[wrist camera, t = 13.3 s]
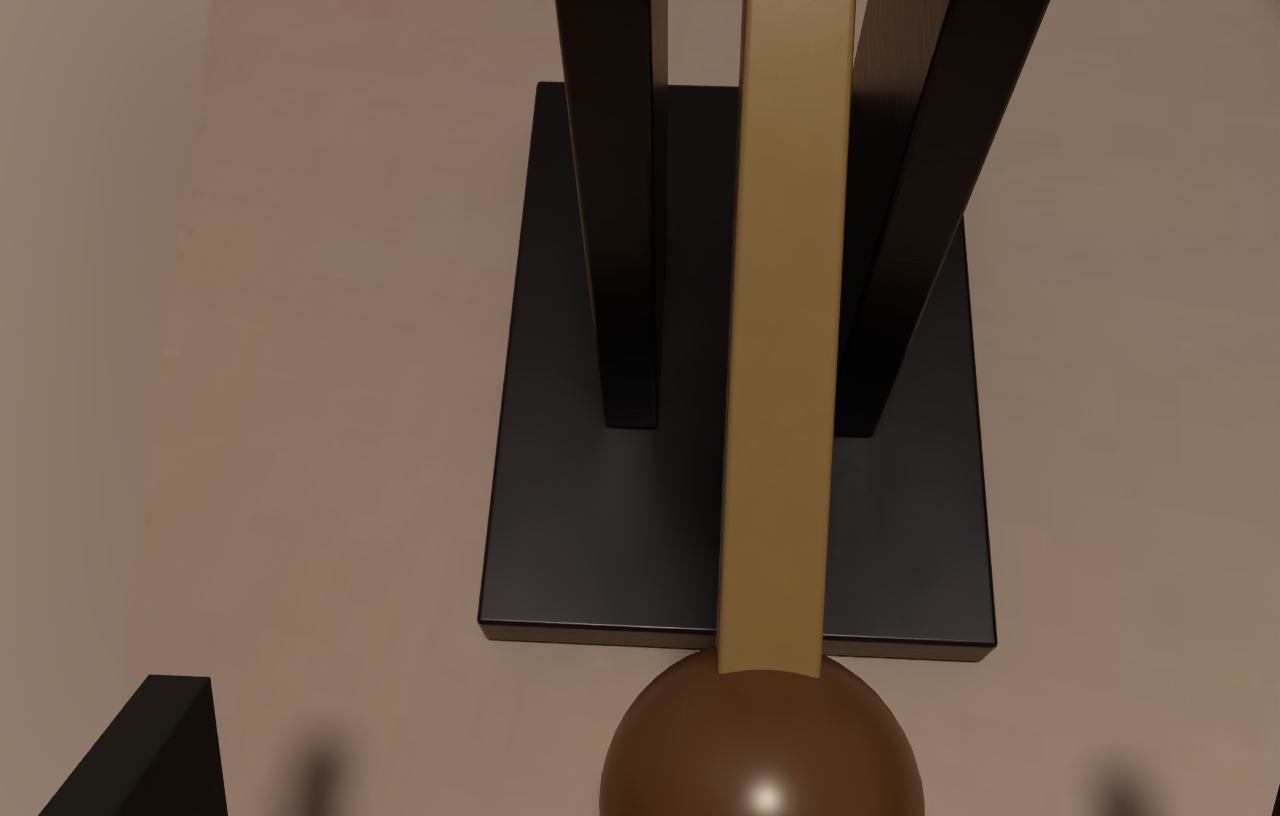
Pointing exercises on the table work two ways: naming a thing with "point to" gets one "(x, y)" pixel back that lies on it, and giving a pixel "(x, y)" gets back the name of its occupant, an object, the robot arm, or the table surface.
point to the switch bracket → (699, 331)
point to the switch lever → (774, 483)
